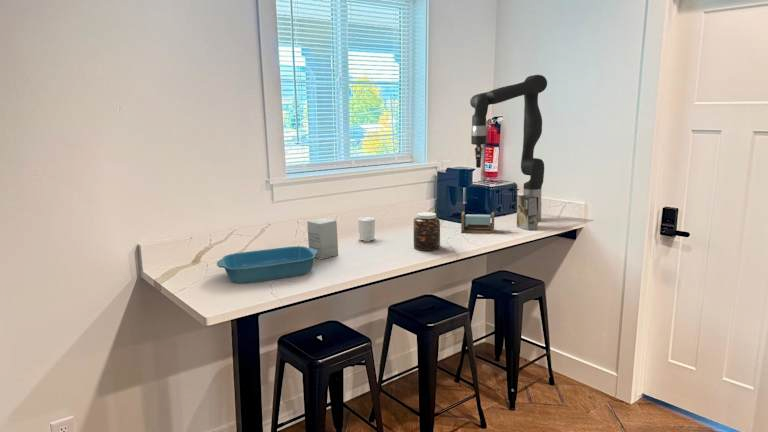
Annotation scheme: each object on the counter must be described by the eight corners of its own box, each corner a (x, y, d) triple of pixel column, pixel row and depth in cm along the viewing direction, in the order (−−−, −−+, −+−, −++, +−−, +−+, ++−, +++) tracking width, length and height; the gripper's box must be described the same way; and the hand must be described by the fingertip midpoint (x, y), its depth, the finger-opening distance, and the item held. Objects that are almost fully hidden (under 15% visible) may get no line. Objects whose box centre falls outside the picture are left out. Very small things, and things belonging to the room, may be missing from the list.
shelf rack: (462, 229, 261) (462, 211, 260) (493, 229, 258) (494, 211, 257) (461, 233, 253) (461, 214, 251) (494, 233, 250) (494, 215, 248)
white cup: (355, 241, 242) (355, 220, 240) (362, 237, 249) (362, 216, 247) (371, 242, 239) (370, 220, 237) (378, 238, 246) (377, 217, 244)
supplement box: (325, 251, 224) (323, 217, 221) (338, 255, 218) (337, 220, 215) (308, 255, 218) (306, 220, 215) (321, 259, 211) (319, 223, 209)
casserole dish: (221, 290, 178) (219, 269, 176) (215, 272, 198) (214, 254, 197) (325, 275, 191) (324, 256, 190) (310, 260, 211) (309, 243, 210)
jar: (445, 247, 227) (445, 213, 224) (429, 252, 218) (429, 217, 216) (424, 243, 235) (424, 210, 232) (407, 248, 226) (407, 214, 223)
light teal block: (465, 222, 258) (465, 214, 257) (490, 222, 256) (490, 214, 255) (465, 224, 253) (465, 216, 252) (490, 224, 251) (490, 216, 250)
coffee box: (538, 229, 257) (539, 197, 254) (528, 230, 255) (528, 198, 252) (525, 225, 266) (526, 194, 263) (515, 227, 263) (516, 195, 260)
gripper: (486, 135, 255) (486, 168, 258) (486, 134, 269) (486, 165, 272) (471, 135, 257) (470, 168, 260) (471, 134, 271) (471, 165, 274)
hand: (478, 166), depth 266 cm, fingers open, 8 cm apart
